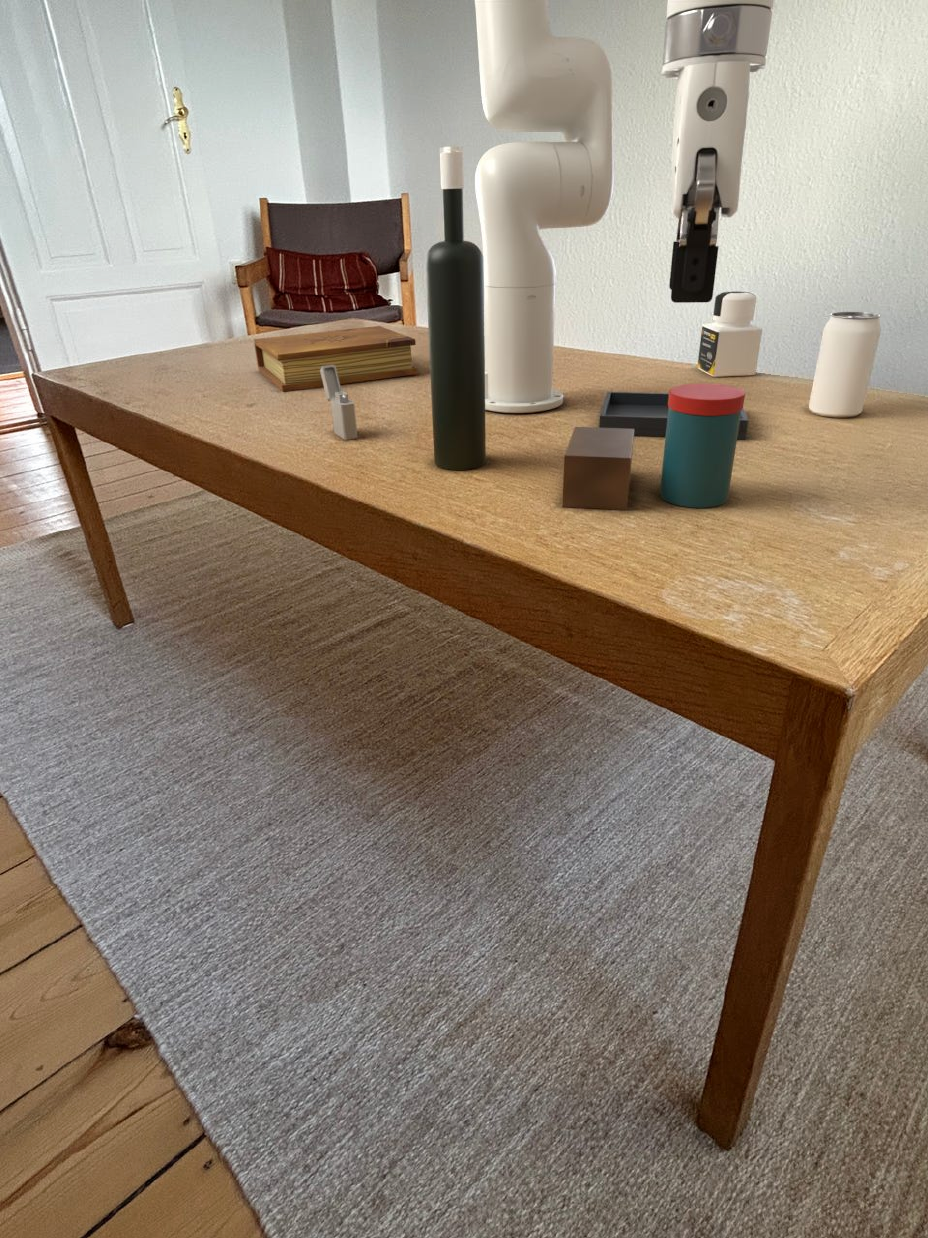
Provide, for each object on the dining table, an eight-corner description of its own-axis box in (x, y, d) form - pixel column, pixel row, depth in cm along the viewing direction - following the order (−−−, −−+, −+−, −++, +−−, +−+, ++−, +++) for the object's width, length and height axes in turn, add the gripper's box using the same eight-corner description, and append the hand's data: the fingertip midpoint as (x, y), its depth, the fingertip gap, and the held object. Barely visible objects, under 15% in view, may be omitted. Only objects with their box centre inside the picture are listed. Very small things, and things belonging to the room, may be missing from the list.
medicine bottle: (696, 368, 125) (705, 290, 119) (737, 366, 126) (749, 288, 120) (712, 377, 119) (723, 295, 113) (756, 375, 119) (768, 293, 114)
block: (562, 506, 71) (564, 455, 69) (572, 473, 80) (575, 426, 77) (626, 510, 70) (630, 458, 68) (630, 476, 78) (634, 428, 76)
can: (867, 419, 95) (891, 318, 89) (812, 417, 96) (832, 318, 91) (854, 406, 101) (876, 311, 95) (803, 405, 102) (821, 311, 96)
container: (609, 451, 69) (714, 360, 64) (612, 432, 75) (709, 347, 69) (690, 539, 72) (798, 459, 66) (688, 514, 77) (787, 438, 71)
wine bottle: (436, 454, 87) (422, 149, 72) (486, 454, 86) (482, 147, 72) (432, 470, 82) (417, 145, 67) (485, 470, 81) (481, 143, 67)
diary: (380, 357, 141) (378, 325, 139) (417, 375, 127) (415, 339, 124) (258, 371, 133) (253, 337, 130) (282, 391, 118) (277, 353, 116)
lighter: (358, 437, 94) (351, 371, 90) (344, 439, 93) (337, 373, 89) (338, 425, 99) (332, 362, 96) (326, 427, 99) (319, 364, 95)
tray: (598, 434, 92) (599, 415, 91) (605, 408, 104) (606, 391, 102) (745, 439, 89) (748, 420, 88) (736, 412, 100) (738, 394, 99)
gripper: (784, 20, 48) (744, 307, 56) (754, 62, 63) (726, 285, 71) (664, 29, 50) (642, 307, 58) (662, 69, 64) (645, 286, 73)
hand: (688, 295), depth 64 cm, fingers open, 9 cm apart
